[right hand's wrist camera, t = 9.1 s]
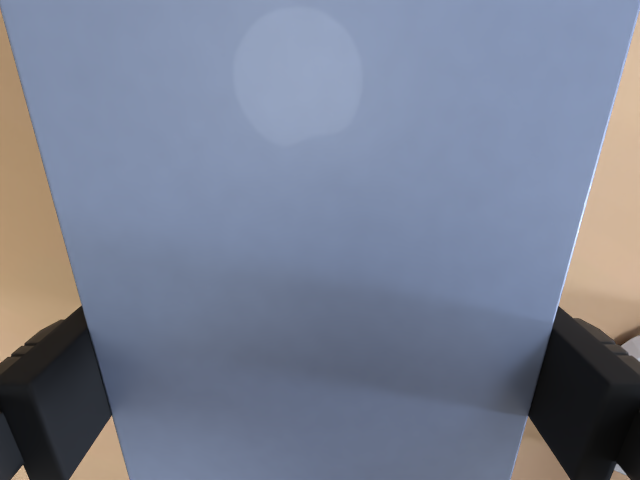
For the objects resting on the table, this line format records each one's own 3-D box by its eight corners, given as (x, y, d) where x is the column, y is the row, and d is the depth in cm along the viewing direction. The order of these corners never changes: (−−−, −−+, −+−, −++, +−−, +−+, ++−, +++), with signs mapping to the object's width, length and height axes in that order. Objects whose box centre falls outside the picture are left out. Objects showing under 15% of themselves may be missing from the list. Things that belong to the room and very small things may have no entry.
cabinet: (149, -204, 11) (-271, -960, 3) (492, -205, 11) (915, -974, 3) (215, 327, 18) (133, 499, 10) (425, 328, 18) (506, 501, 10)
